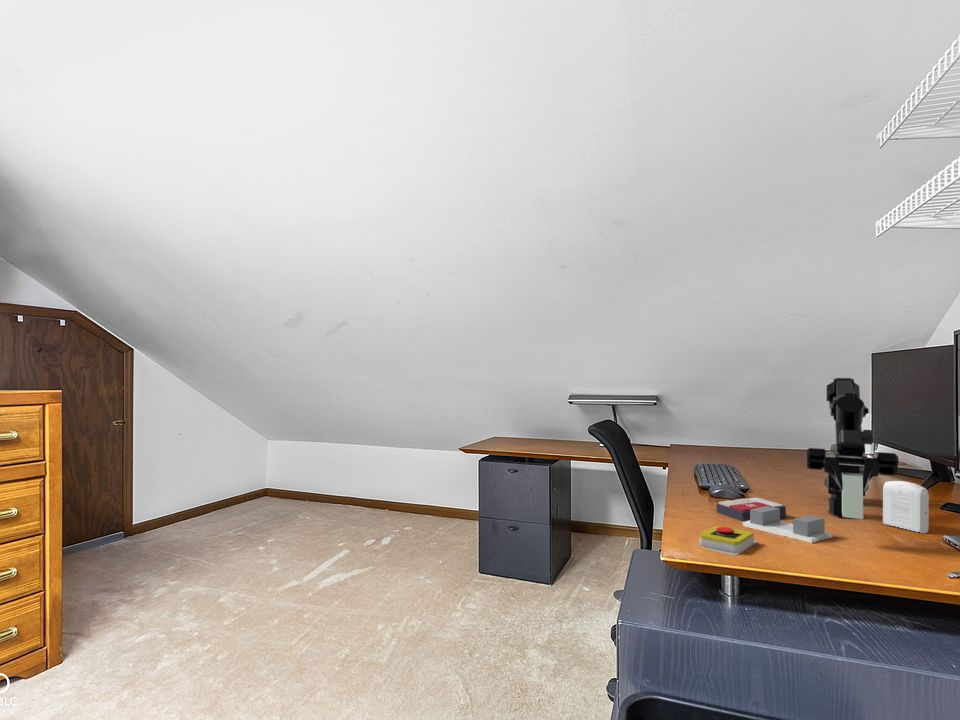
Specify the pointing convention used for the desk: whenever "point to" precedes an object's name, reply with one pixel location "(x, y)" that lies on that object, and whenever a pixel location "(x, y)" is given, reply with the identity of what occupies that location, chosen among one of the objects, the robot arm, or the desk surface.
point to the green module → (852, 495)
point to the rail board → (788, 525)
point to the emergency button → (726, 540)
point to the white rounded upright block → (906, 506)
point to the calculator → (746, 507)
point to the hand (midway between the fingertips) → (852, 489)
